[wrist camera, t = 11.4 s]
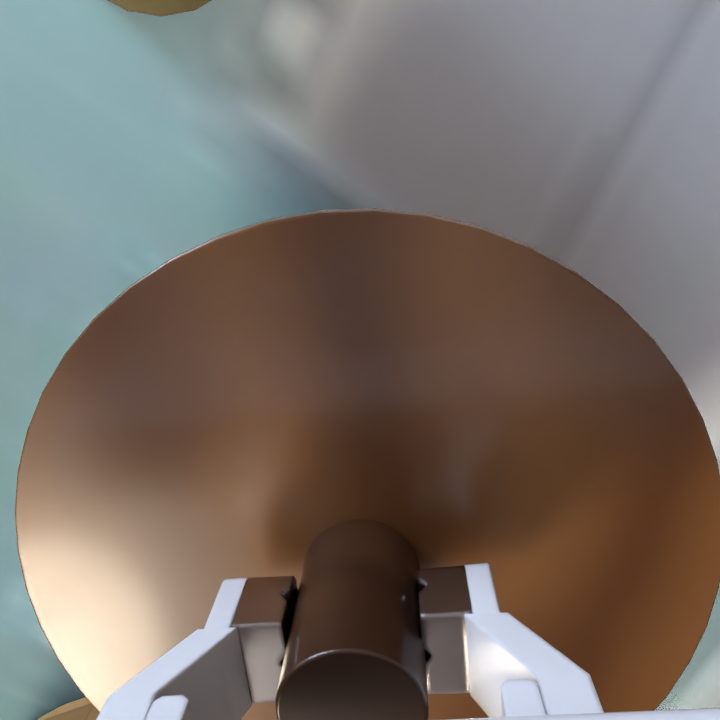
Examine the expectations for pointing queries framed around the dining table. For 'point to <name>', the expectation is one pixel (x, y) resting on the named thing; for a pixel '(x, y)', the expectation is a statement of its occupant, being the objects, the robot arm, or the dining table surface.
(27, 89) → the dining table surface
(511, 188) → the dining table surface
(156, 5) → the tan pawn
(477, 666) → the robot arm
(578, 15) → the dining table surface
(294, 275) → the lid
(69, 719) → the round wooden box
